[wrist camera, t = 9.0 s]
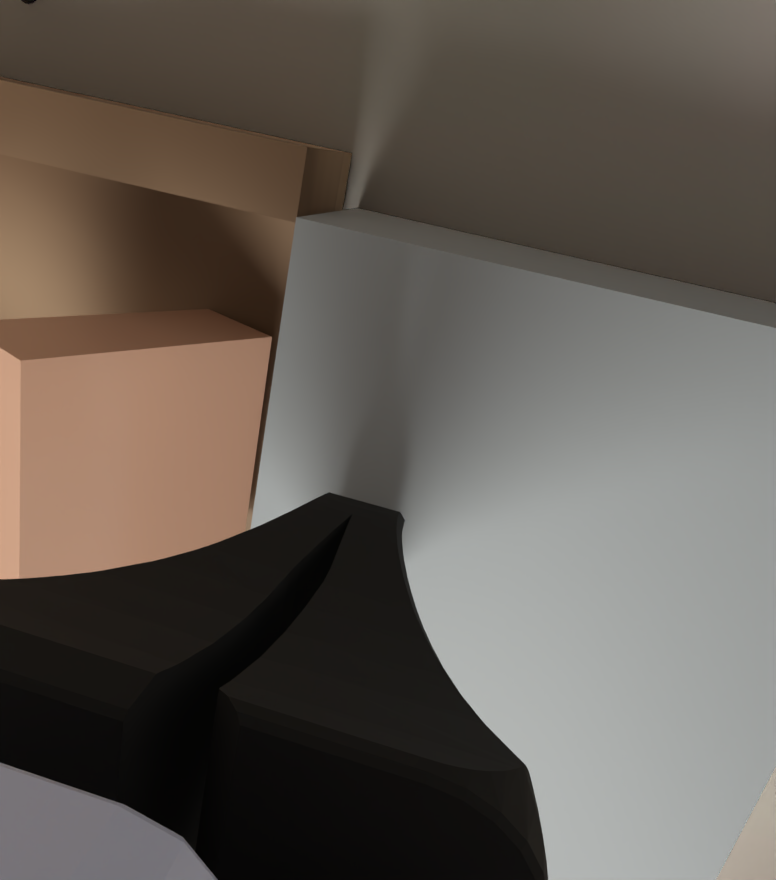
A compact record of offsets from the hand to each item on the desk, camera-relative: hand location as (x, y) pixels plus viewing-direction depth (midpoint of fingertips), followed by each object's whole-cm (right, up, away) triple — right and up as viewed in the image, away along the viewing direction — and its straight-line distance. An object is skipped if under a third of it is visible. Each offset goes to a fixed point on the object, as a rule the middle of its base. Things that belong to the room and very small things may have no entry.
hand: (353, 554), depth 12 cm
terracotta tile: (-4, +1, +2) cm, 4 cm away
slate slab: (+3, -2, +5) cm, 6 cm away
